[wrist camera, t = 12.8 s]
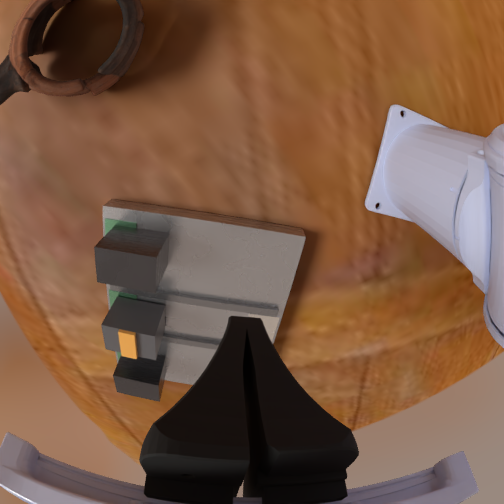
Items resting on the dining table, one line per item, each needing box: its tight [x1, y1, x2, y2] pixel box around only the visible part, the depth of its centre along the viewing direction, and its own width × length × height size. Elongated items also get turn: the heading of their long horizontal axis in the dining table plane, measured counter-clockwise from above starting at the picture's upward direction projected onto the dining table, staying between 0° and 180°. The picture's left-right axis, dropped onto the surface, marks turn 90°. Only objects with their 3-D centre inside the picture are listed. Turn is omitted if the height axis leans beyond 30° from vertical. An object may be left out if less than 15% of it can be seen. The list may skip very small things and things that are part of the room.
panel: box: [94, 199, 306, 401], centre depth 22 cm, size 14×17×5 cm
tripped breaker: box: [102, 296, 165, 360], centre depth 20 cm, size 4×2×4 cm, turn 79°
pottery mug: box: [0, 0, 144, 105], centre depth 12 cm, size 12×10×8 cm
